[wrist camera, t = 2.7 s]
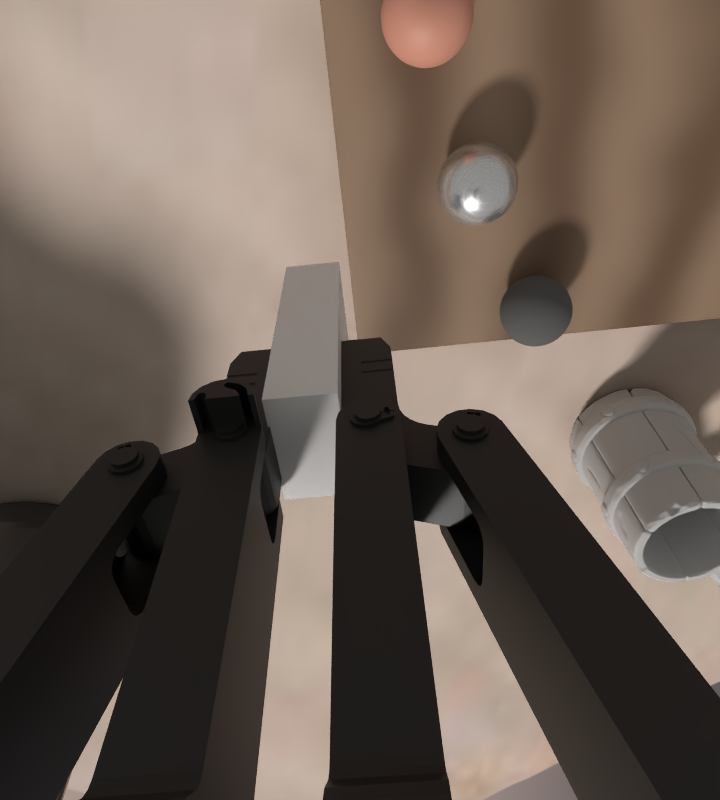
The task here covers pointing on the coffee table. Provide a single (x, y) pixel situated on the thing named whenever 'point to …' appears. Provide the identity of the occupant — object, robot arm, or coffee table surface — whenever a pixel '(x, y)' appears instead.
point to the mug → (652, 482)
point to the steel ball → (477, 183)
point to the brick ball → (426, 29)
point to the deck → (533, 165)
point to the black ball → (536, 310)
